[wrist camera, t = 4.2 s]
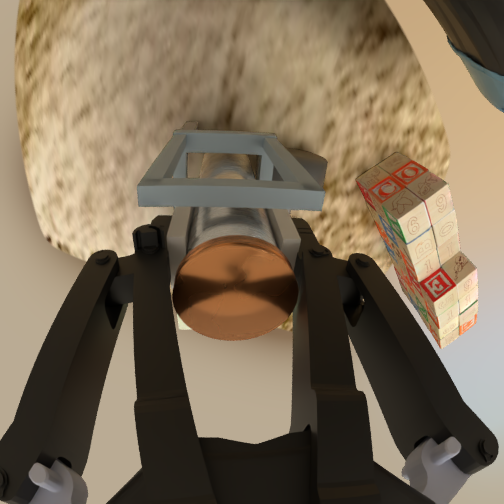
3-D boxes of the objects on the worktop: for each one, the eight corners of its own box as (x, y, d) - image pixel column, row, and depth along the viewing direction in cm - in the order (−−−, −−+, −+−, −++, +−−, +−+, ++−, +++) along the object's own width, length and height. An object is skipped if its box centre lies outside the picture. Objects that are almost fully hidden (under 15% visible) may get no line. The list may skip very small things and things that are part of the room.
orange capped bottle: (199, 136, 23) (166, 246, 9) (254, 139, 23) (310, 249, 9) (198, 186, 25) (177, 340, 11) (249, 188, 26) (287, 339, 12)
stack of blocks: (352, 178, 29) (416, 238, 19) (396, 150, 27) (472, 196, 17) (402, 291, 40) (441, 351, 29) (433, 269, 38) (477, 324, 28)
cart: (184, 119, 24) (133, 183, 9) (318, 128, 25) (433, 202, 11) (185, 257, 32) (173, 399, 17) (295, 258, 33) (344, 388, 19)
